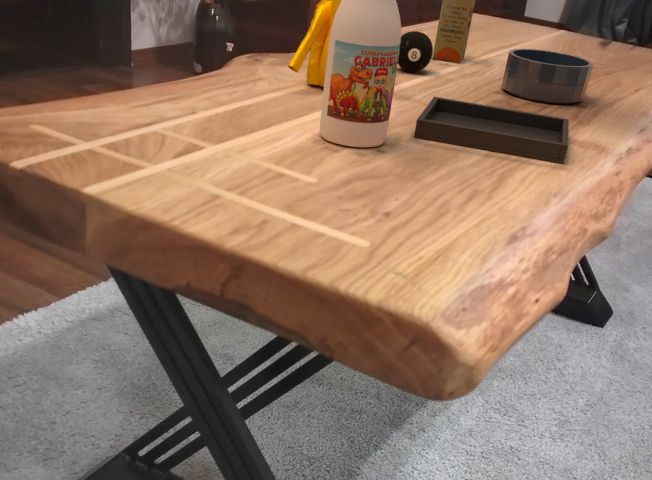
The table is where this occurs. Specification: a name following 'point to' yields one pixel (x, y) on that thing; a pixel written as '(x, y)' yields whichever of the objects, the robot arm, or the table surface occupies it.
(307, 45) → the figure statuette
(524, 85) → the bowl
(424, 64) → the billiard ball
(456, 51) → the shoe polish box
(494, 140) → the tray
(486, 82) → the table surface
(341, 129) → the milk bottle
